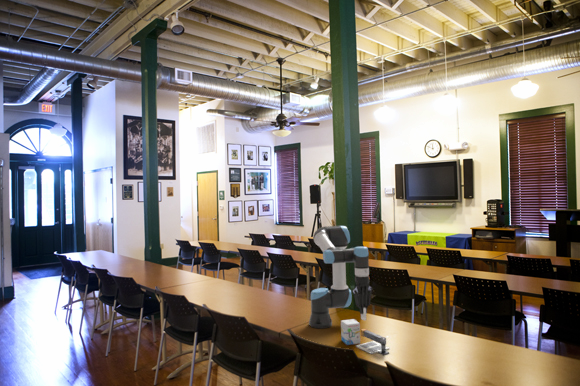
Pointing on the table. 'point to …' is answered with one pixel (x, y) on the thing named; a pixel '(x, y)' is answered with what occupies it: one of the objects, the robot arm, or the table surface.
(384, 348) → the pivot post
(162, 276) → the table surface
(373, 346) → the label plate
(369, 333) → the swing arm
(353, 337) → the ink box
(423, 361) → the table surface
